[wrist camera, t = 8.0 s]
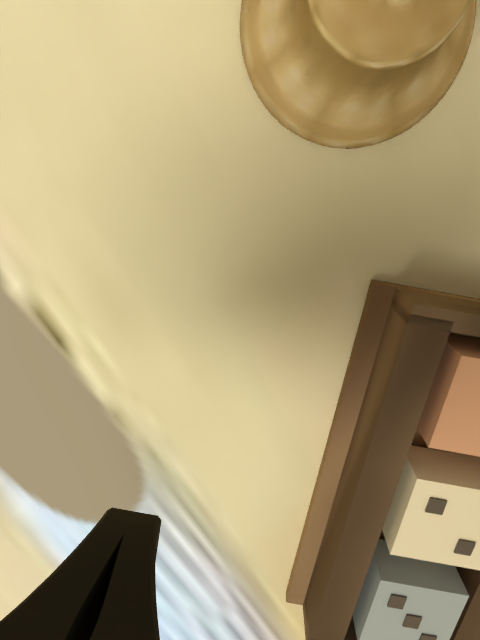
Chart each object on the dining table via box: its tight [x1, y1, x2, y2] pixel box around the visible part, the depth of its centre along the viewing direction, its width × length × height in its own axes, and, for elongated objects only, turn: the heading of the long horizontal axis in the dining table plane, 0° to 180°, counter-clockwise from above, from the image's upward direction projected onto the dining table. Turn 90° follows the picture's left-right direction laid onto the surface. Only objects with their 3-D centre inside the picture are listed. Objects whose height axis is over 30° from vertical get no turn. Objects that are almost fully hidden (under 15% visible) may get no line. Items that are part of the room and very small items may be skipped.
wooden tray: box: [286, 280, 480, 640], centre depth 21 cm, size 10×18×3 cm, turn 170°
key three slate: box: [353, 539, 469, 640], centre depth 22 cm, size 4×4×3 cm
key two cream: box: [382, 445, 480, 570], centre depth 20 cm, size 4×4×3 cm
